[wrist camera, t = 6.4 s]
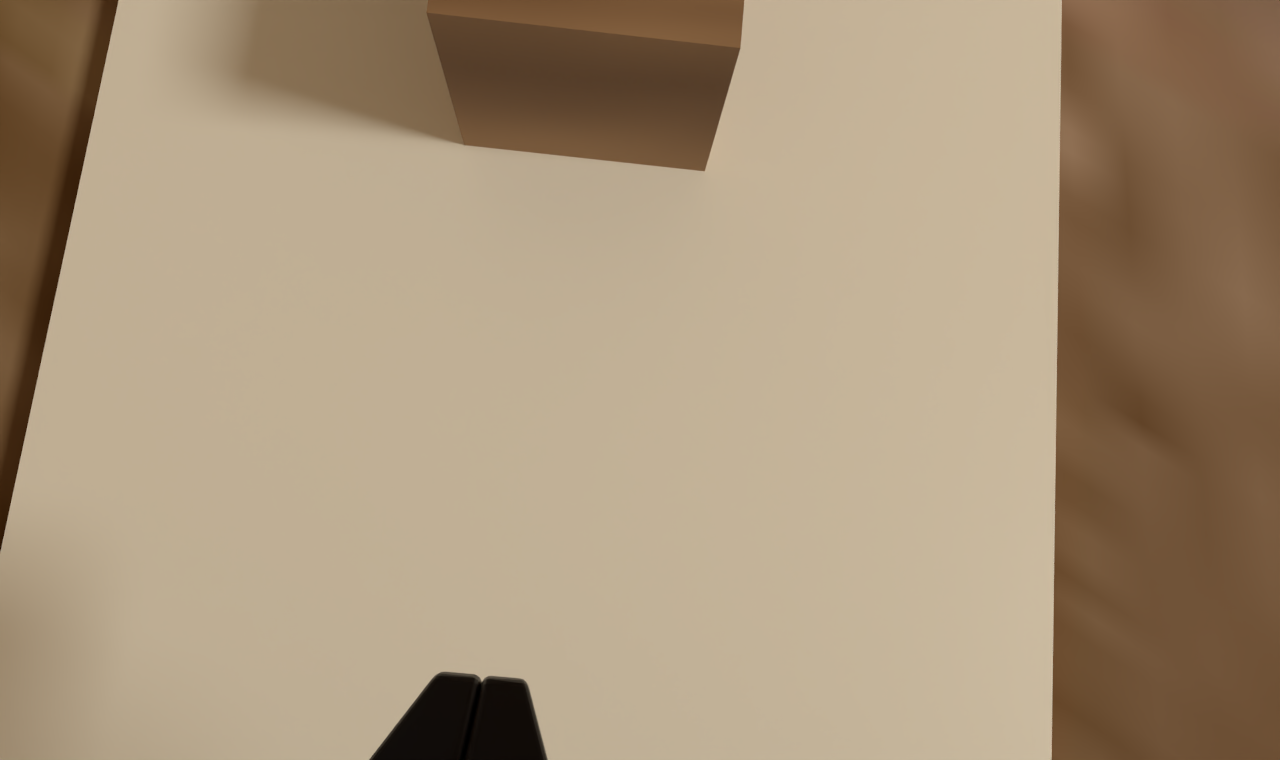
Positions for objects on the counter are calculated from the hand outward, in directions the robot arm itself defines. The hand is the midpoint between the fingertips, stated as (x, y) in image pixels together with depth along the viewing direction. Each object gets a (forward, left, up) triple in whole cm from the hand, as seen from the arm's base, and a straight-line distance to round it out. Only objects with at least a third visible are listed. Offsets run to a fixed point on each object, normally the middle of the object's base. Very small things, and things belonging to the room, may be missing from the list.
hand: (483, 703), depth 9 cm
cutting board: (+6, 0, -8) cm, 11 cm away
